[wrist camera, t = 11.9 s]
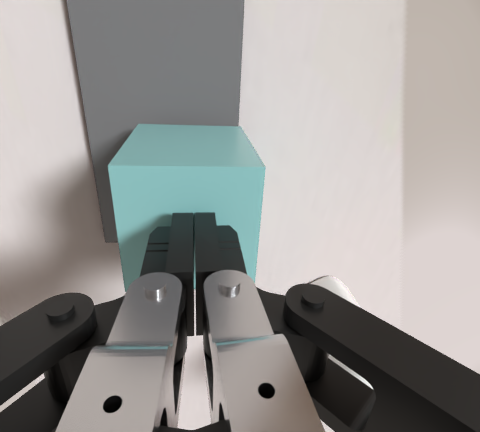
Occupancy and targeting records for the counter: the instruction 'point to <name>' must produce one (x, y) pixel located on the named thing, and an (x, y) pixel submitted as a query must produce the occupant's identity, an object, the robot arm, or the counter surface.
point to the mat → (153, 72)
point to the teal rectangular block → (185, 186)
